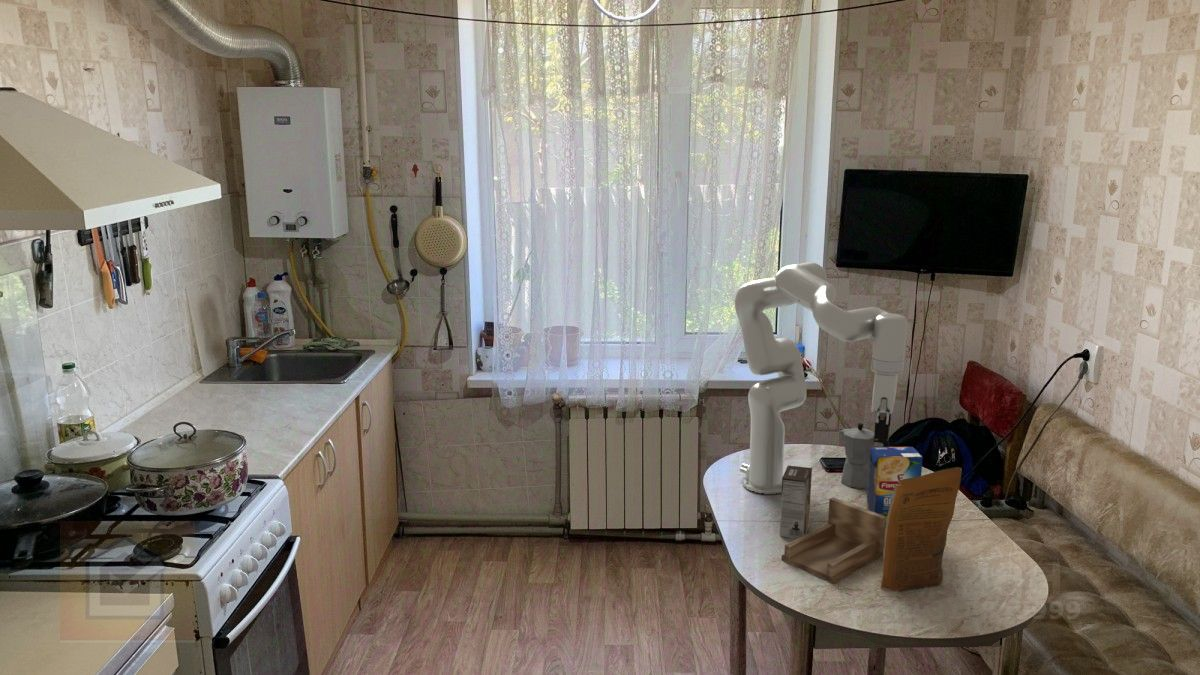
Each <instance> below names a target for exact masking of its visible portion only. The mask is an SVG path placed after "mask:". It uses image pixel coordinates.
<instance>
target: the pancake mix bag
mask: <svg viewBox="0 0 1200 675" xmlns="http://www.w3.org/2000/svg"><path fill="white" fill-rule="evenodd" d="M962 471H963V470H962V467H958V466H956V467H950V468H945V469H941V470H937V471H933V472H930V473H927V474H923V475H921V476H918V477H913V478H908V479H903V480H899V484H900V485H895V488H894V492H893V495H892V499H891V504H890V507H889V511H888V516H887V521H886V531H885V539H884V550H883V559H882V578H881V583H880V584H881V585H880V588H881V589H885V590H887V591H888V590H889V591H891V592H906V591H911V590H916V589H923V588H928V587H935V586H940V585H941V584H942V583H943V580H944V572H943V558H944V553H945V549H946V546H947V538H948V529H949V527H950V524H951V521H952V519H953V515H954V513H955V506H956V500H957V495H958V493H959V491H960V487H961V486H960V485H961V479H962Z"/></svg>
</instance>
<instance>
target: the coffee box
mask: <svg viewBox="0 0 1200 675" xmlns="http://www.w3.org/2000/svg"><path fill="white" fill-rule="evenodd" d="M812 474H813V468H812V467H804V466H797V465H787V467H786V468H785V471H784V472H783V478H782V492H781V496H780V497H781V498H780V499H781V500H780V517H779V518H780V521H779V523H780V524H779V536H780V537H785V538H790V539H791V538H793V539H798V538H800V537H802V536H804V535H806V534H807V533H808V529H809V527H810V512H811V494H812V492H811V490H812Z"/></svg>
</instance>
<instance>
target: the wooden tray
mask: <svg viewBox="0 0 1200 675" xmlns="http://www.w3.org/2000/svg"><path fill="white" fill-rule="evenodd" d="M828 501H829V502H828V514H827V523H826V524H824V525H822V526H820V527H818V528H815V529H814V530H812V531H810V532H807V533H806V535H804V536H802V537H800V538H798V539H797V538H795V539H794V540H792V541H790V542H788V543H786V544H784V554H781V561H783V560H784V562H785V561H786V562H785V563H788V564H790V565H792V564H793V565H792V566H794V567H797V568H799V569H801V570H803V571H806V572H808V573H811V575H815V576H816V577H819V578H822V579H824V580H825V581H829V582H831V583H833V584H836V583H838V582H840V581H841V580H843V579H845V578H846V577H847V578H848V576H850V575H852V574H854V573H855V572H858V571H859V570H861V569H862V568H864V567H866V566H868V565H869V564H871V563H873V562H875V561H876V560H878V559H879V558H881V557H884V543H885V539H884V537H885V524H886V517H885V516H883V515H880V514H877V513H874V512H872V511H869V510H866V508H864V507H861V506H858V505H854V504H852V503H850V502H847V501H844V500H841V499H839V498H835V497H831V498H829V499H828Z"/></svg>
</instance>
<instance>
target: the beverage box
mask: <svg viewBox="0 0 1200 675" xmlns="http://www.w3.org/2000/svg"><path fill="white" fill-rule="evenodd" d="M923 459H924V456H923V455H922V454H920V452H919V451H918V450H917V449H916V448H914V447H913V446H889V447H883V446H880V447H878V446H877V447H876V446H875V447H874V446H873V447H870V459H869V473H868V487H867V488H866V489H867V490H866V504H865V509H866V510H869V511H872V512H874V513H877V514H880V515H883V516H885V517H886V521H887V516H888V511H889V507H890V504H891V499H892V495H893V492H894V488H895V485H900V484H899V480H903V479H908V478H913V477H918V476H922V470H923V469H922V468H923ZM885 531H886V524H885ZM884 540H885V537H884Z"/></svg>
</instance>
